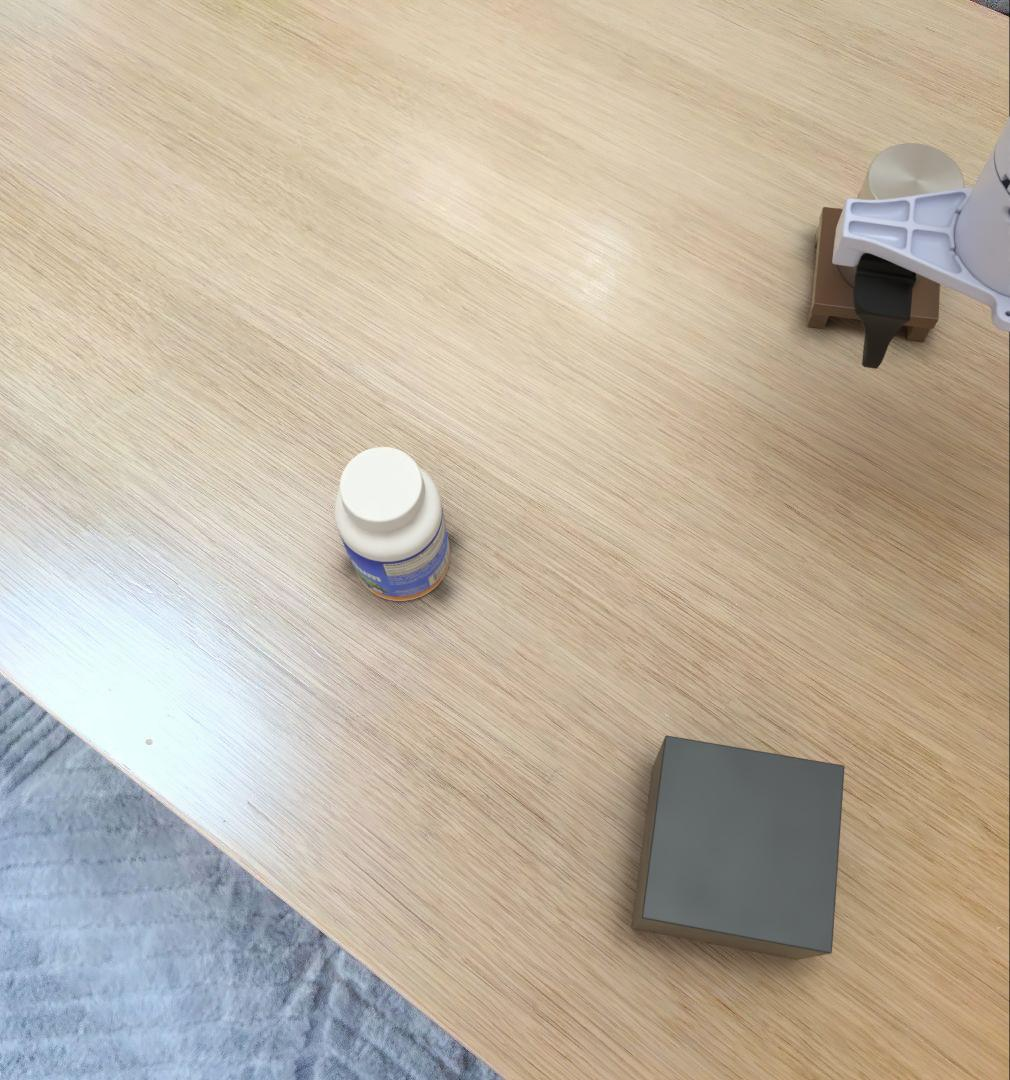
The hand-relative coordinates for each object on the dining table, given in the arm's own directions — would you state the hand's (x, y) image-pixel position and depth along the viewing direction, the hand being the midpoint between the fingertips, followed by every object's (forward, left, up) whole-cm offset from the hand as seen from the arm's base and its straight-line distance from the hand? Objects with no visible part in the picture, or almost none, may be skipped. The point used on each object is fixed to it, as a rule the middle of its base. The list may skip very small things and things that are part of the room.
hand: (952, 362), depth 54 cm
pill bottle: (+26, +10, -10) cm, 30 cm away
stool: (+2, -11, -10) cm, 16 cm away
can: (+2, -11, -8) cm, 14 cm away
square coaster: (+7, +23, -10) cm, 26 cm away
